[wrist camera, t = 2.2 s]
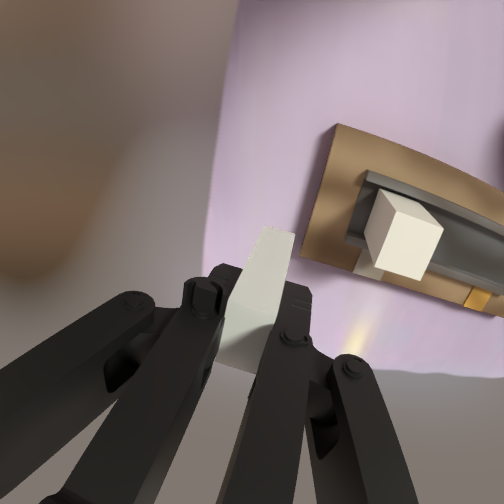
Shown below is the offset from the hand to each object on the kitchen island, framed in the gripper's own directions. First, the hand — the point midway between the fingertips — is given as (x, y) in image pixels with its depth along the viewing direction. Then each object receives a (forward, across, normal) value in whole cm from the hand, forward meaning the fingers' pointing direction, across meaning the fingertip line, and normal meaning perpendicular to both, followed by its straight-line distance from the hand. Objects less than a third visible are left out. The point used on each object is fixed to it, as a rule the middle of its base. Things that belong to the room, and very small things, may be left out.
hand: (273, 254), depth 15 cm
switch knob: (+13, +9, 0) cm, 16 cm away
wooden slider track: (+16, +16, 0) cm, 23 cm away
